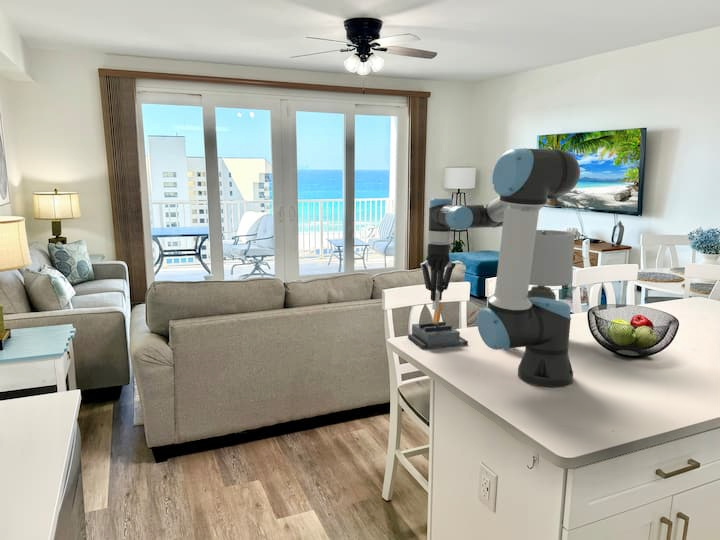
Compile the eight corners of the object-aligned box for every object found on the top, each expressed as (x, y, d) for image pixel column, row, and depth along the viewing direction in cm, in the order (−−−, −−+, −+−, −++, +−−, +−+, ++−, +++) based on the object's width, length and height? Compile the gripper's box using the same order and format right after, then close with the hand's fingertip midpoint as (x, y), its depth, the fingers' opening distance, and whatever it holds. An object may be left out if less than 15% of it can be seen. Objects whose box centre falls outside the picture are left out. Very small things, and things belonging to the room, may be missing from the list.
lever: (438, 326, 184) (443, 303, 183) (435, 326, 183) (440, 302, 182) (434, 324, 187) (439, 301, 186) (431, 324, 186) (436, 300, 185)
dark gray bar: (426, 348, 178) (426, 344, 178) (422, 349, 178) (422, 345, 178) (411, 338, 190) (411, 334, 190) (408, 338, 190) (408, 334, 190)
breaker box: (459, 345, 181) (460, 328, 180) (427, 349, 178) (427, 331, 177) (442, 334, 194) (442, 318, 193) (411, 337, 191) (412, 321, 190)
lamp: (499, 334, 194) (503, 230, 188) (528, 324, 208) (533, 226, 201) (550, 347, 179) (557, 234, 173) (577, 335, 193) (585, 230, 186)
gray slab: (467, 345, 182) (467, 341, 182) (459, 345, 181) (460, 341, 181) (449, 333, 195) (449, 330, 195) (442, 334, 194) (442, 331, 194)
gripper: (450, 241, 186) (447, 306, 190) (417, 242, 182) (414, 307, 186) (460, 244, 179) (456, 311, 182) (426, 244, 175) (423, 313, 179)
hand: (435, 309), depth 184 cm, fingers closed
